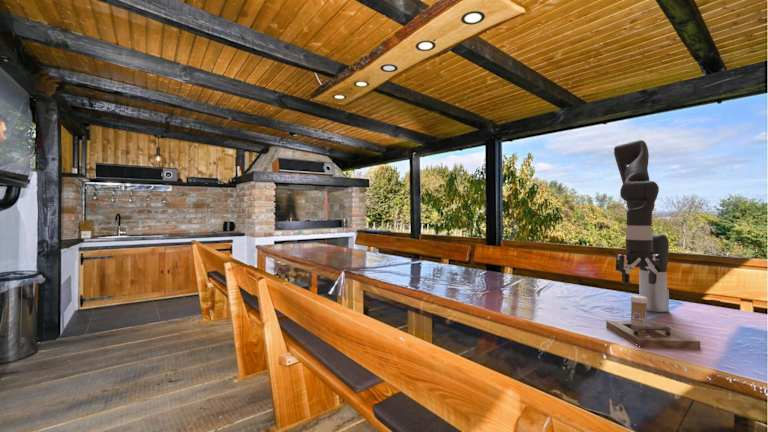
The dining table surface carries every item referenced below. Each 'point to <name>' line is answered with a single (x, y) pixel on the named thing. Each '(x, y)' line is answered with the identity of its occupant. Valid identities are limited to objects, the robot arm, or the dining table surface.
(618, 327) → the flat wooden frame
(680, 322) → the dining table surface
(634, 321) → the sprinkles bottle
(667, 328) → the hook rod
